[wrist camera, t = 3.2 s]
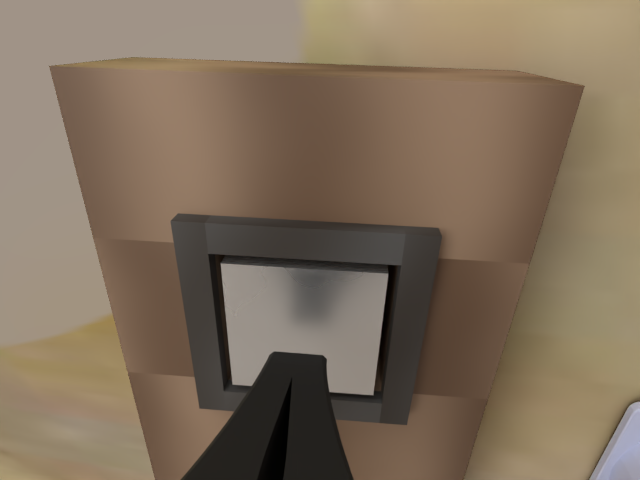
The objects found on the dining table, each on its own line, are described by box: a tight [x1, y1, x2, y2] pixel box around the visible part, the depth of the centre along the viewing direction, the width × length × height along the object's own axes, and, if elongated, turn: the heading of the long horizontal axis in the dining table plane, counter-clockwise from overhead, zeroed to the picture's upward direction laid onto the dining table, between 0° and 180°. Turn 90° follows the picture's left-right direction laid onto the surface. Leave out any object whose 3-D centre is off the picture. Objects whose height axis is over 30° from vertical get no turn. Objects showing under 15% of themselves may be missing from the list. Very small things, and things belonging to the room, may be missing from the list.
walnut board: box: [49, 57, 584, 480], centre depth 16 cm, size 12×26×4 cm, turn 178°
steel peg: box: [221, 255, 388, 395], centre depth 14 cm, size 4×4×4 cm
